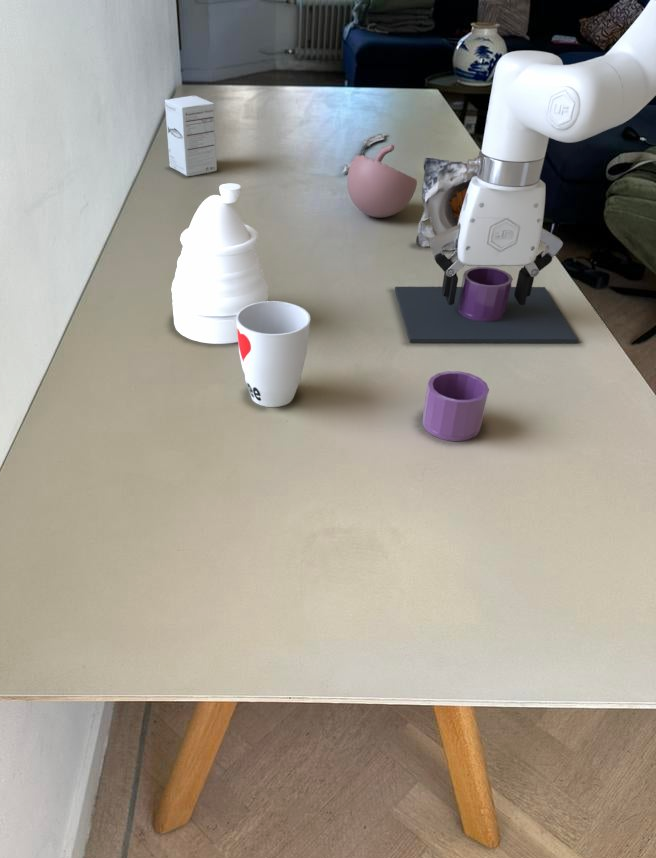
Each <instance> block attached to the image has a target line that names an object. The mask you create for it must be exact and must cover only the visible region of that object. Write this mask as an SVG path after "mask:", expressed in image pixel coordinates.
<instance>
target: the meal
mask: <svg viewBox="0 0 656 858" xmlns="http://www.w3.org/2000/svg"><path fill="white" fill-rule="evenodd" d="M423 171H424V175H423V178H422V184H421V185H422V187H421V199H422V203H423V204H422V205H423V208H424V210H423V212H422V215H421V218H420V220H419V221H418V226H417V235H416V238H415V245H416V246H417V245H418V246H419V247H422V248H425V247H430V245H429V243H428V241H429V239H430V238H432V237H434V236H436V235H438V234H440V233H442V232H444V231H446V230H448V229H450V228H453V227H455V226H457V225H458V221H459V217H460V213H461V209H462V205H463V202H464V199H465V196H466V192H467V190H468V187H469V184H470V182H471V179H472V178H473V177H474V176H477V174H476V172H473V171H467V162H465V161H450V160H448V159H440V158H433V157H424V159H423ZM426 220H429V222H430V224H431V225H427V224H424V221H426ZM454 242H455V240H454V241H452V242H450V243H448V244H446V245H444V246H443V247H442V251H455V249H454Z"/></svg>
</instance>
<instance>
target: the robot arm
mask: <svg viewBox="0 0 656 858" xmlns="http://www.w3.org/2000/svg"><path fill="white" fill-rule="evenodd" d="M494 69H495V70H494V73H493V79H492V84H491V92H490V96H489V103H488V110H487V114H486V119H485V127H484V133H483V138H482V145H481V150H479V153H478V155H477V157H474V158H472V159H471V158H469V159H468V160H467V162H466V163H467V171H473V172H476V174H477V176H474V177H473V178H472V179H471V182H470V184H469V187H468V190H467V192H466V196H465V199H464V202H463V205H462V209H461V213H460V217H459V221H458V225H457V226H455V227H453V228H450V229H448V230H446V231H444V232H442V233H440V234H438V235H436V236H434V237H432V238H430V239H429V241H428V243H429V245H430V246H429V248H430V251H431V254H432V256H433V259H434V261H435V262H436V264H437V266H439V267H440V268H441V270H442V271H443V272H444V273H443V280H442V286H441V287H442V296H445V298H446V300H447V303H448V305H452V304H454V301H455V295H456V289H457V287H458V282H459V277H458V275H457V273H458V272H459V271H460V270H461V269H462V268H463V267H464V266H469V267H520V269H519V271H518V276H517V280H516V285H515V287H516V289H515V293H514V296H515V298H516V300H517V302H518V303H519V304H520V305H525V302H526V297H527V296H530V293H531V289H532V287H533V285H534V281H535V278H536V277H537V276H538V275H539V274H540V271H542V270H543V269H544V268H545V267H547V266H548V265H549V264H550V263H552V261H553V258H554V257H555V256H556V255H557V254H558V253H559V251H560V250H561V248H562V247H563V245H564V242H563V241H562V240H561V238H560V237H559V236H556V235H555V234H553V233H552V232H550V231H548V230H547V229H544V228H543V223H544V216H545V208H546V207H545V205H546V190H547V189H546V182H544V181H543V180H542V179H541V175H542V171H543V166H544V161H545V158H546V152H547V149H548V144H549V140H550V139H552V140H555V141H558V142H561V143H569V144H570V143H571V144H572V143H578V142H582V141H584V140H588V139H590V138H591V137H595V136H597V135H599V134H601V133H603V132H606V131H607V130H610V129H614V128H616V127H618V126H620V125H623V124H624V123H626V122H627V121H629V120H631V119H632V118H633V117H635V116H636V115H637V114H638V113H639V112H640V111H641V110H643V108H645V107H646V106H647V105H648V104H649V103H650V102H651V101H652V100H653V99H654V98H655V97H656V0H649V1H648V3H647V4H646V6H645V8H644V9H643V10H642V11H641V12H640V14H639V15H638V17H637V18H636V19H635V20H634V22H633V23H632V24H631V25H630V26H629V28H628V29H627V30H626V31H625V32H624V33H623V35H622V36H621V37H620V38H619V39H618V40H617V41H616V43H615V44H614V45H612V47H611V48H610V49H609V50H608V51H607V52H605V54H604V55H601V56H597V57H594V58H591V59H587V60H585V61H580V62H576V63H571V64H564V62H563V60H562V58H561V57H559V56H558V55H556V54H554V53H551V52H547V51H541V50H515V51H510V52H507V53H505V54H504V55H502V56H501V57H500V58H499V59H498V61H497V63H496V66H495V68H494ZM454 240H455V242H454V249H455V250H453V252H452V253H451V254H450V255H449V256H448V257H447V256H446V255H445V253H444V252H443V250H442V247H443V246H444V245H446V244H448V243H450V242H452V241H454ZM541 242H542V243H543V244H545V248H544V250H542V251H541V252H540V253H539V247H540V243H541Z"/></svg>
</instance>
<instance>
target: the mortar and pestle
mask: <svg viewBox="0 0 656 858" xmlns="http://www.w3.org/2000/svg"><path fill="white" fill-rule="evenodd" d="M394 150H395V145H394V144H389V145H387V146H385V147H382V148H380V149H379V151H378V153H377V155H376V156H375V158H374V159H373V158H371V157H367V156H365V154H364V155H363V154H362V156H359V155H358V154H355V155H354V157H353V159H352V161H351V162H352V163H351V162H350V163H351V165H350V168H349V171H348V172H347V175H346V176H347V177H346V186H347V192H348V196H349V198H350V200H351V201H352V203H353V204H354V206H355V207H356V208H357V209H358V210H359V211H360V212H361V213H363V214H365V215H366V216H369V217H372V218H388V217H391V216H394V215H396V214H397V213H399V212H401V211H402V210H403V209H405V208H406V206H408V205H409V203H410V202H411V200H412V198H413V197H414V195H415V193H416V189H417V186H418V180H417V178H414V177H412V176H410V175H408V174H406V173H404V172H401V171H400V170H397V169H396V168H394V167H392V166H389V165H388V164H385V163H382V161H383V159H384V157H385V156H386V155H387V154H389V153H392V152H393V151H394Z"/></svg>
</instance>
